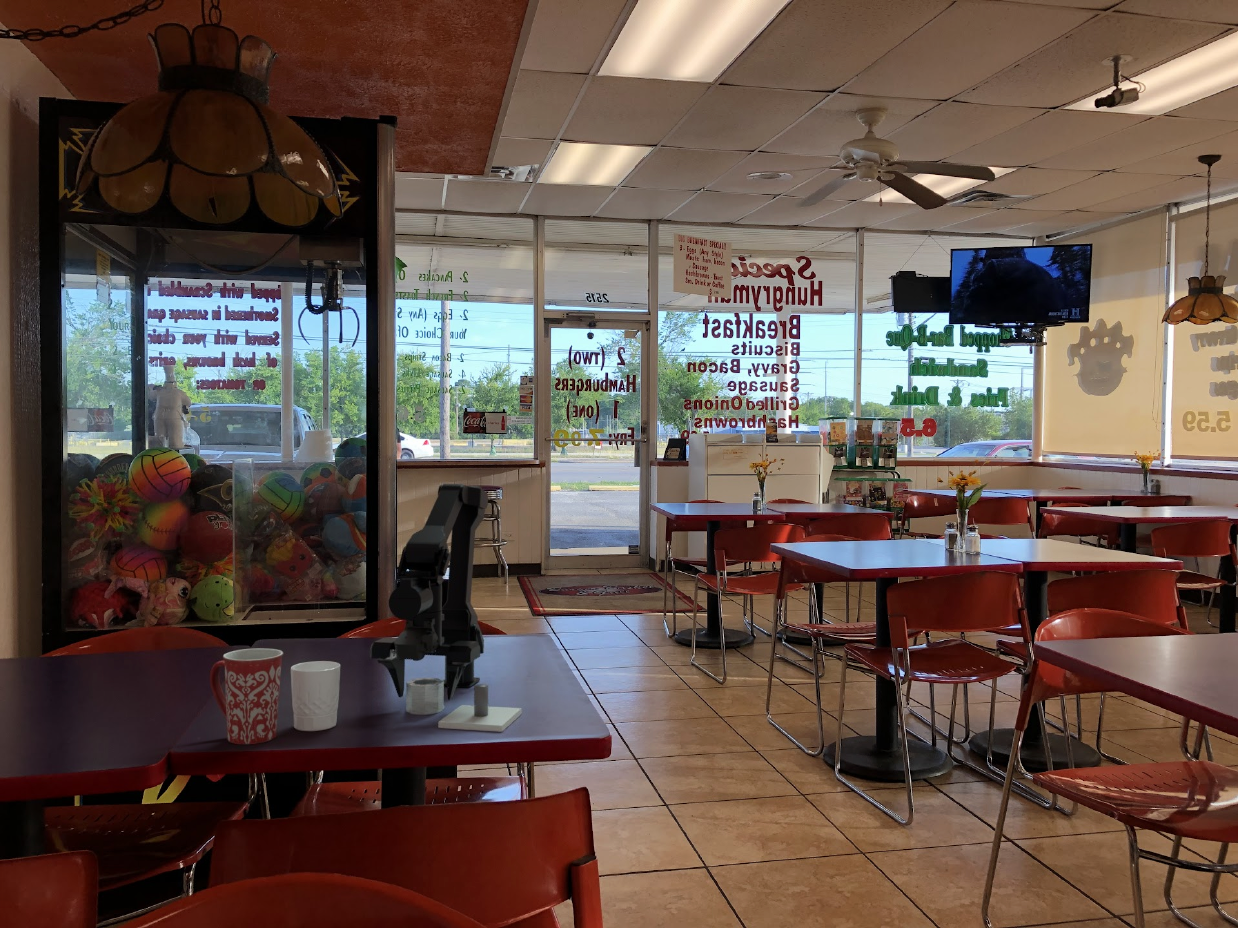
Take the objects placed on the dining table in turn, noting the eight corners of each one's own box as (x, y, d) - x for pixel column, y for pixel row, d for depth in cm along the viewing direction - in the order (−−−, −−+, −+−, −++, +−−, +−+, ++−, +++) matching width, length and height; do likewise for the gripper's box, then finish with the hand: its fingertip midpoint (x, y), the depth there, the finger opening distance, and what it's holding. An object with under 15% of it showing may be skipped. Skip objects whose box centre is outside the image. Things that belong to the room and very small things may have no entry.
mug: (295, 733, 153) (295, 650, 153) (253, 749, 144) (253, 661, 144) (235, 724, 158) (236, 644, 158) (192, 739, 149) (192, 654, 149)
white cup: (322, 716, 163) (322, 658, 163) (349, 725, 158) (349, 665, 158) (281, 726, 157) (281, 666, 157) (307, 735, 152) (308, 673, 152)
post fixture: (461, 710, 167) (461, 676, 167) (521, 713, 165) (521, 679, 165) (438, 727, 156) (438, 691, 156) (502, 731, 154) (502, 695, 154)
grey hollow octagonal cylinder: (415, 704, 171) (415, 677, 171) (447, 706, 170) (447, 678, 170) (402, 713, 165) (402, 684, 165) (434, 715, 164) (434, 686, 164)
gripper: (355, 615, 161) (355, 707, 161) (459, 619, 158) (459, 713, 158) (383, 606, 172) (383, 691, 172) (481, 609, 169) (481, 696, 169)
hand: (425, 698), depth 168 cm, fingers open, 9 cm apart
